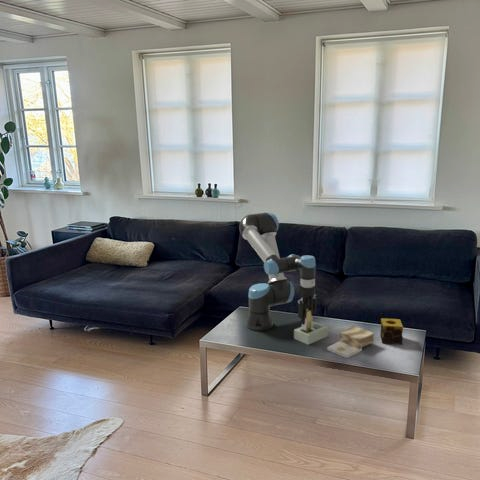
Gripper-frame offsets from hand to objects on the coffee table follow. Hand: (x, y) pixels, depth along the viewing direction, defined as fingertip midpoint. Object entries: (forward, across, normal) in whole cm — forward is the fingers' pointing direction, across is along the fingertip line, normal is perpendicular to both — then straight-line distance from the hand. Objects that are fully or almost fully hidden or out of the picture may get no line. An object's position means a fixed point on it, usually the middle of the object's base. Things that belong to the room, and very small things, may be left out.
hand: (307, 328), depth 238 cm
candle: (+7, +32, -30) cm, 44 cm away
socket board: (+6, +4, 0) cm, 7 cm away
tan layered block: (+5, +14, -21) cm, 26 cm away
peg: (+2, 0, 0) cm, 2 cm away
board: (+6, +4, -21) cm, 22 cm away
